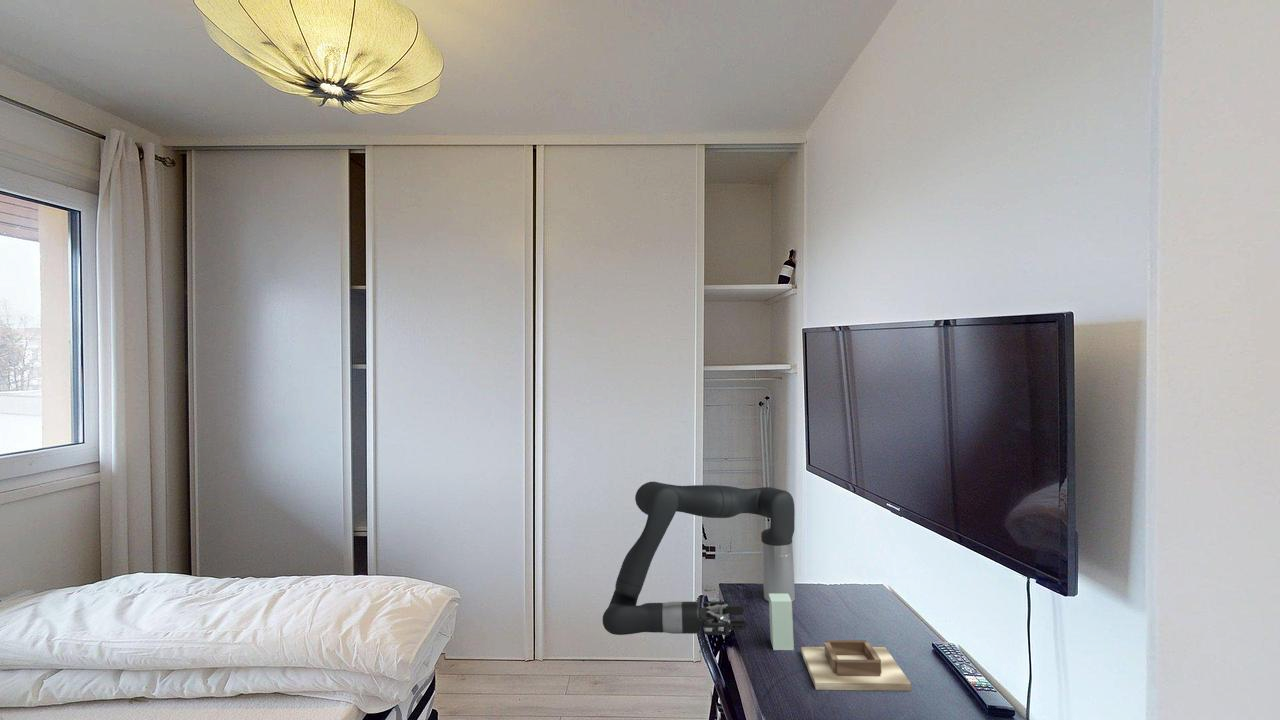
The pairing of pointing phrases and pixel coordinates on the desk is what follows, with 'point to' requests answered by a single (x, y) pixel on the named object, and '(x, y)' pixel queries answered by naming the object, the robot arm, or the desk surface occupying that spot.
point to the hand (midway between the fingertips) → (744, 617)
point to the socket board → (853, 667)
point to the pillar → (781, 622)
